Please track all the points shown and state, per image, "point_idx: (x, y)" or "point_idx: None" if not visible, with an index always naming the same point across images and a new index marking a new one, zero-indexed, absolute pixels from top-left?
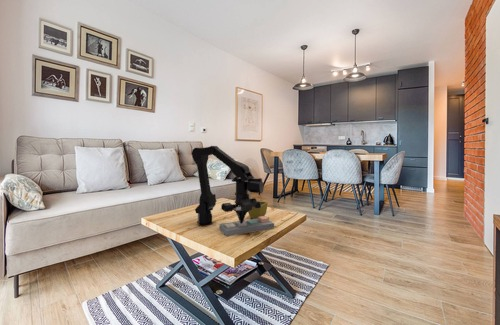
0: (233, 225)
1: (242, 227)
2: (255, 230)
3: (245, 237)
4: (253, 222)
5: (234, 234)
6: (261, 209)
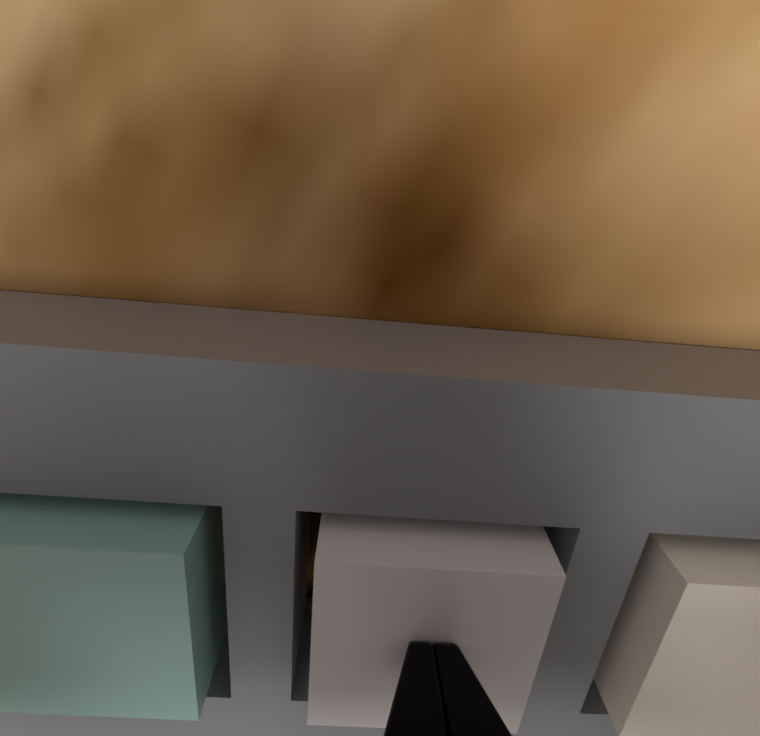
0: (727, 603)
1: (535, 439)
2: (164, 311)
3: (620, 61)
4: (73, 568)
5: (729, 351)
6: None
